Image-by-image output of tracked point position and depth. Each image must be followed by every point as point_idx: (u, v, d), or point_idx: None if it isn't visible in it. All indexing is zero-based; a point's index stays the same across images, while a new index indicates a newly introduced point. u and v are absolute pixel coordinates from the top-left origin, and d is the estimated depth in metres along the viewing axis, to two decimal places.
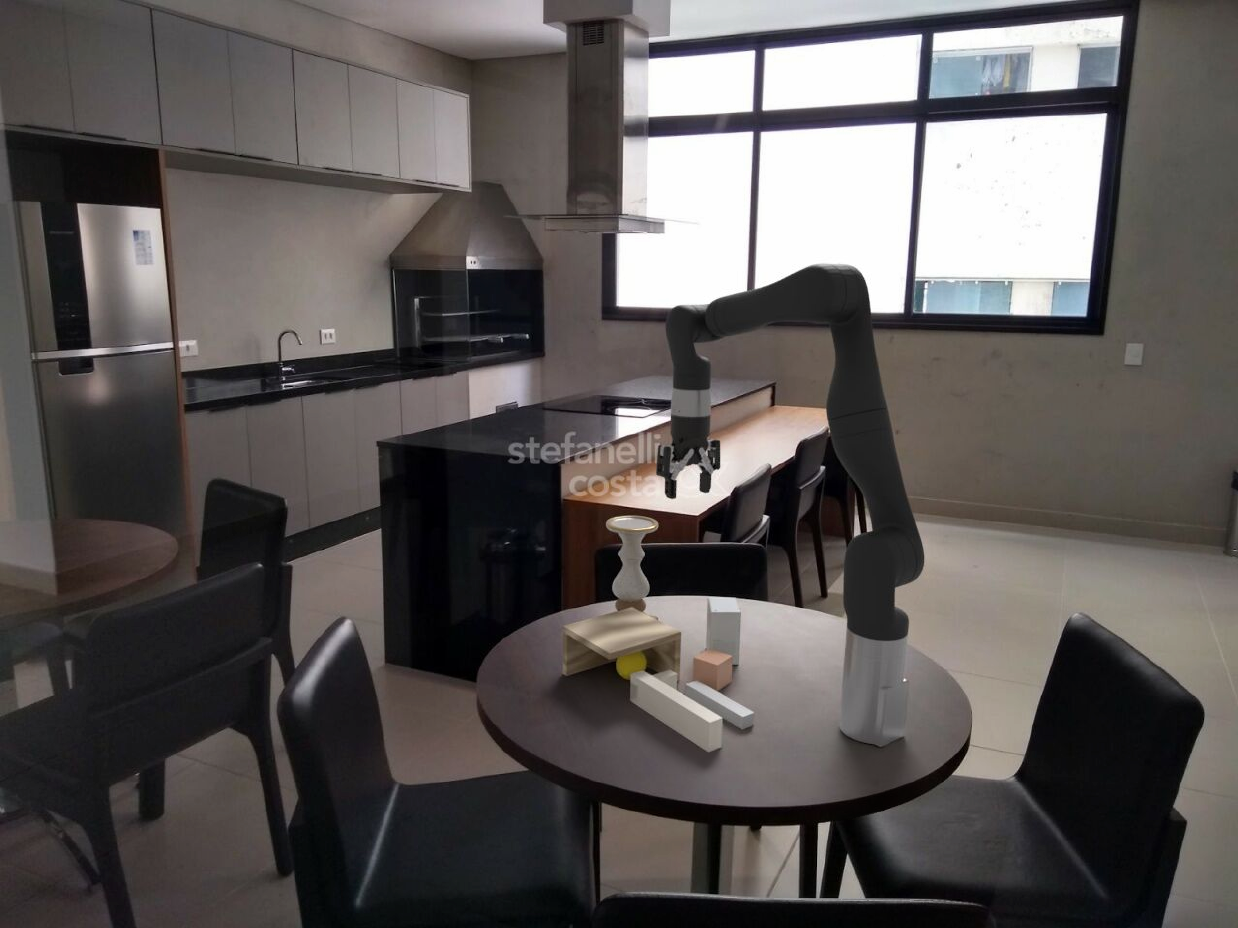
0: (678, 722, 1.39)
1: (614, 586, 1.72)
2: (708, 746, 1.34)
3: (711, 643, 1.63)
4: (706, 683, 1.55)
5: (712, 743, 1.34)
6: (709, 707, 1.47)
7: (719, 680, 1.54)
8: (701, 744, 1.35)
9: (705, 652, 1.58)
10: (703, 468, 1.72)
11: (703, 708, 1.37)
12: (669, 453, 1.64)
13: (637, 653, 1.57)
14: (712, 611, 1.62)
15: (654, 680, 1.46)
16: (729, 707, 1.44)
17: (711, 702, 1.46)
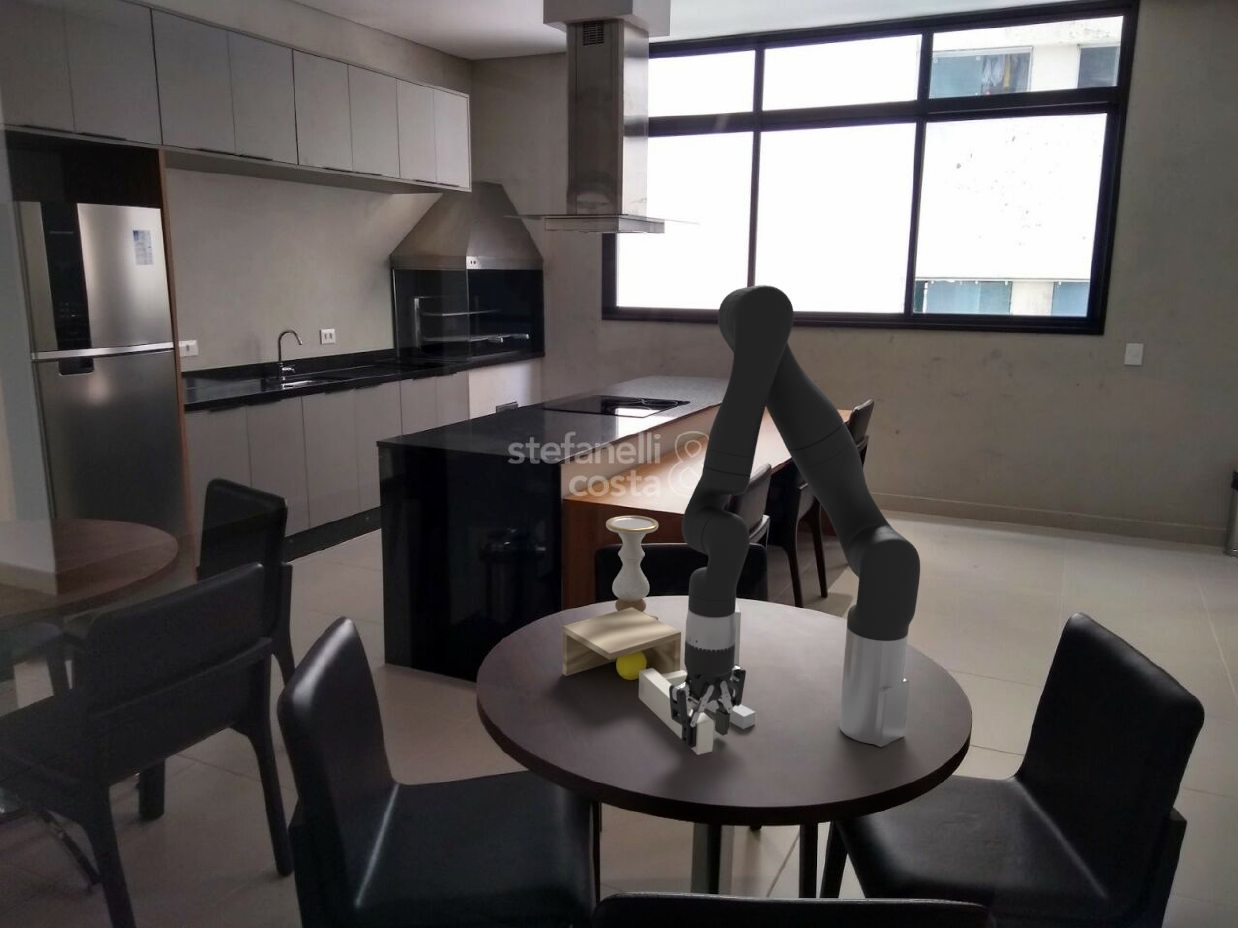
0: (674, 722, 1.39)
1: (614, 586, 1.72)
2: (697, 748, 1.33)
3: None
4: None
5: (701, 745, 1.33)
6: (709, 707, 1.47)
7: None
8: None
9: None
10: (720, 704, 1.37)
11: None
12: (684, 697, 1.30)
13: (637, 653, 1.57)
14: None
15: (660, 678, 1.47)
16: None
17: (711, 702, 1.46)
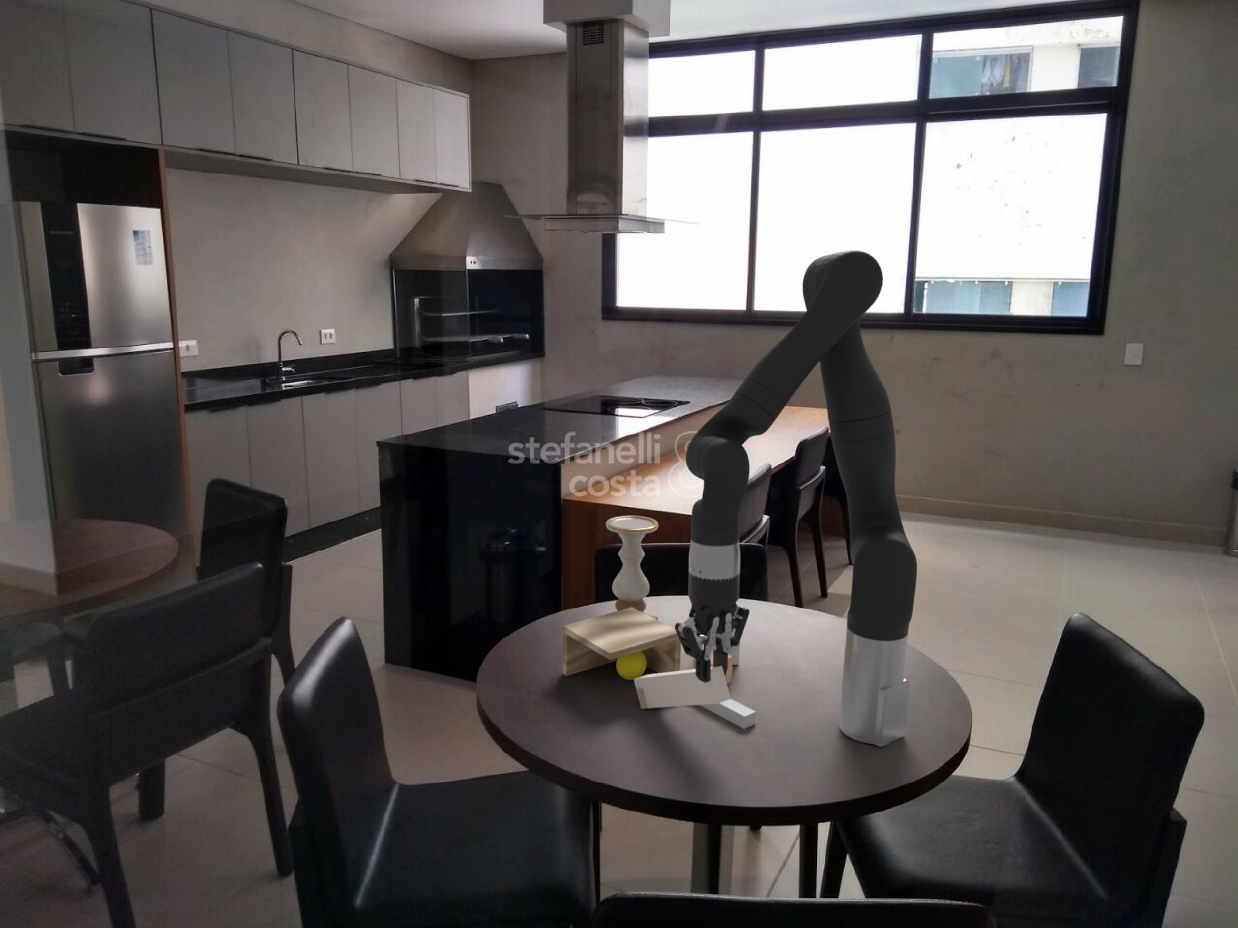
0: (685, 693, 1.37)
1: (614, 586, 1.72)
2: (716, 696, 1.31)
3: None
4: None
5: (718, 692, 1.32)
6: (709, 707, 1.47)
7: None
8: (710, 699, 1.33)
9: None
10: (717, 644, 1.34)
11: None
12: (691, 634, 1.28)
13: (637, 653, 1.57)
14: None
15: (656, 674, 1.45)
16: (730, 706, 1.44)
17: None
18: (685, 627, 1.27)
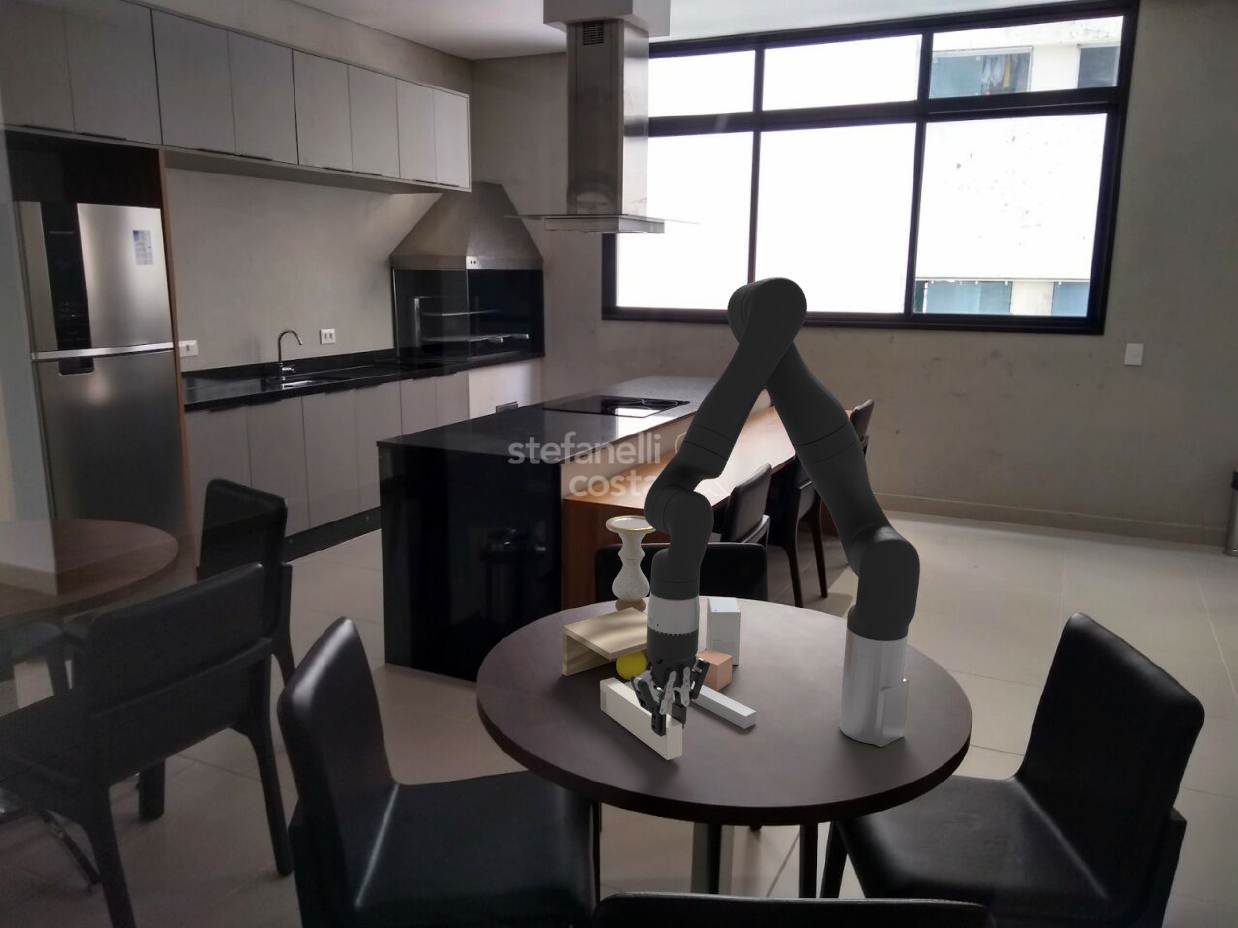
0: (641, 729, 1.35)
1: (614, 586, 1.72)
2: (667, 753, 1.30)
3: (711, 643, 1.63)
4: (706, 683, 1.55)
5: (671, 749, 1.30)
6: (709, 707, 1.47)
7: (719, 680, 1.54)
8: (661, 751, 1.31)
9: (705, 652, 1.58)
10: (676, 697, 1.31)
11: None
12: (646, 687, 1.25)
13: (637, 653, 1.57)
14: (712, 611, 1.62)
15: (622, 687, 1.43)
16: (730, 706, 1.44)
17: (711, 702, 1.46)
18: (640, 680, 1.25)
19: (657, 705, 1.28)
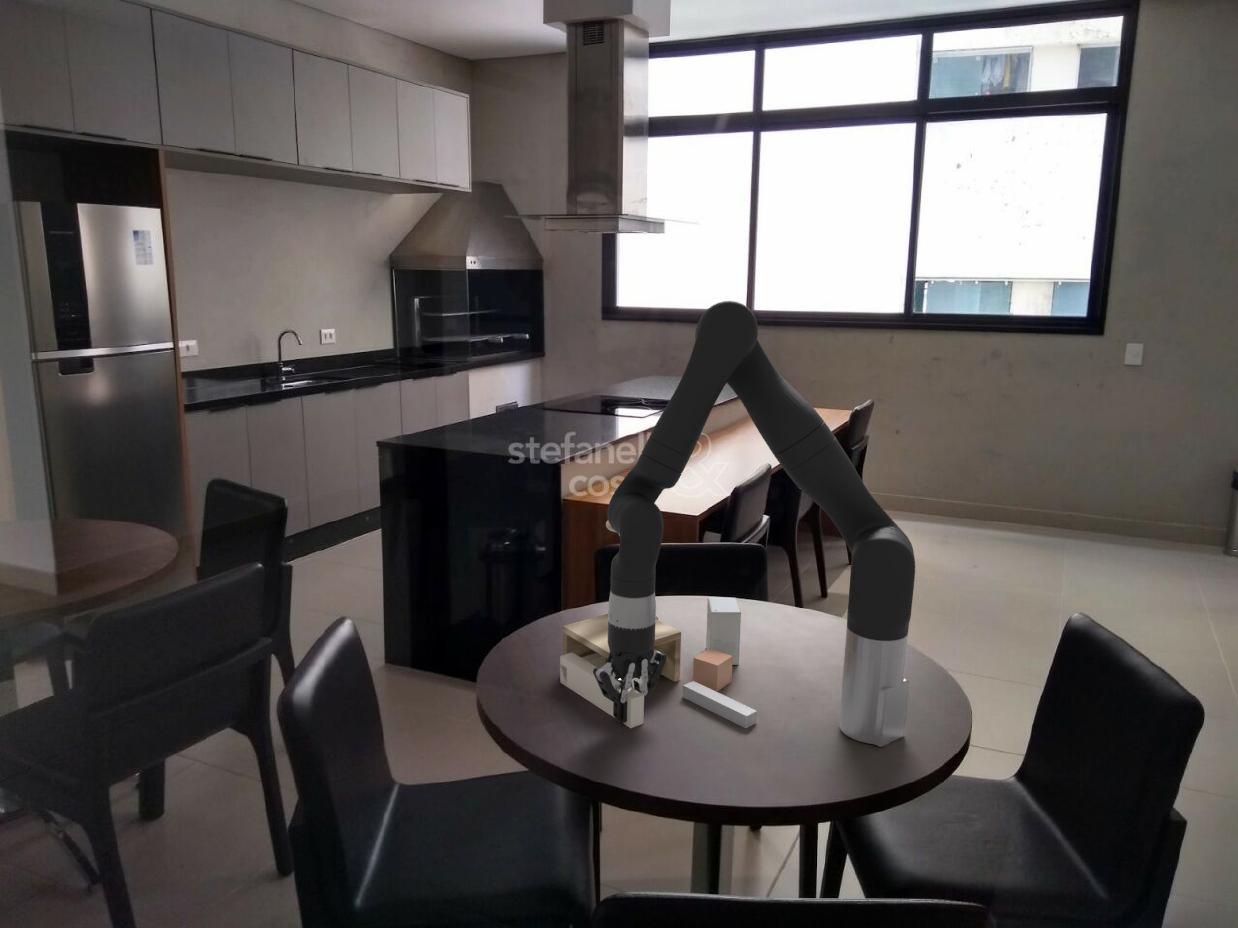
0: (603, 700, 1.46)
1: None
2: (630, 722, 1.41)
3: (711, 643, 1.63)
4: (706, 683, 1.55)
5: (634, 719, 1.41)
6: (709, 707, 1.47)
7: (719, 680, 1.54)
8: None
9: (705, 652, 1.58)
10: (635, 687, 1.43)
11: None
12: (608, 678, 1.37)
13: None
14: (712, 611, 1.62)
15: (582, 661, 1.53)
16: (731, 706, 1.44)
17: (711, 702, 1.46)
18: (602, 672, 1.37)
19: (618, 694, 1.40)
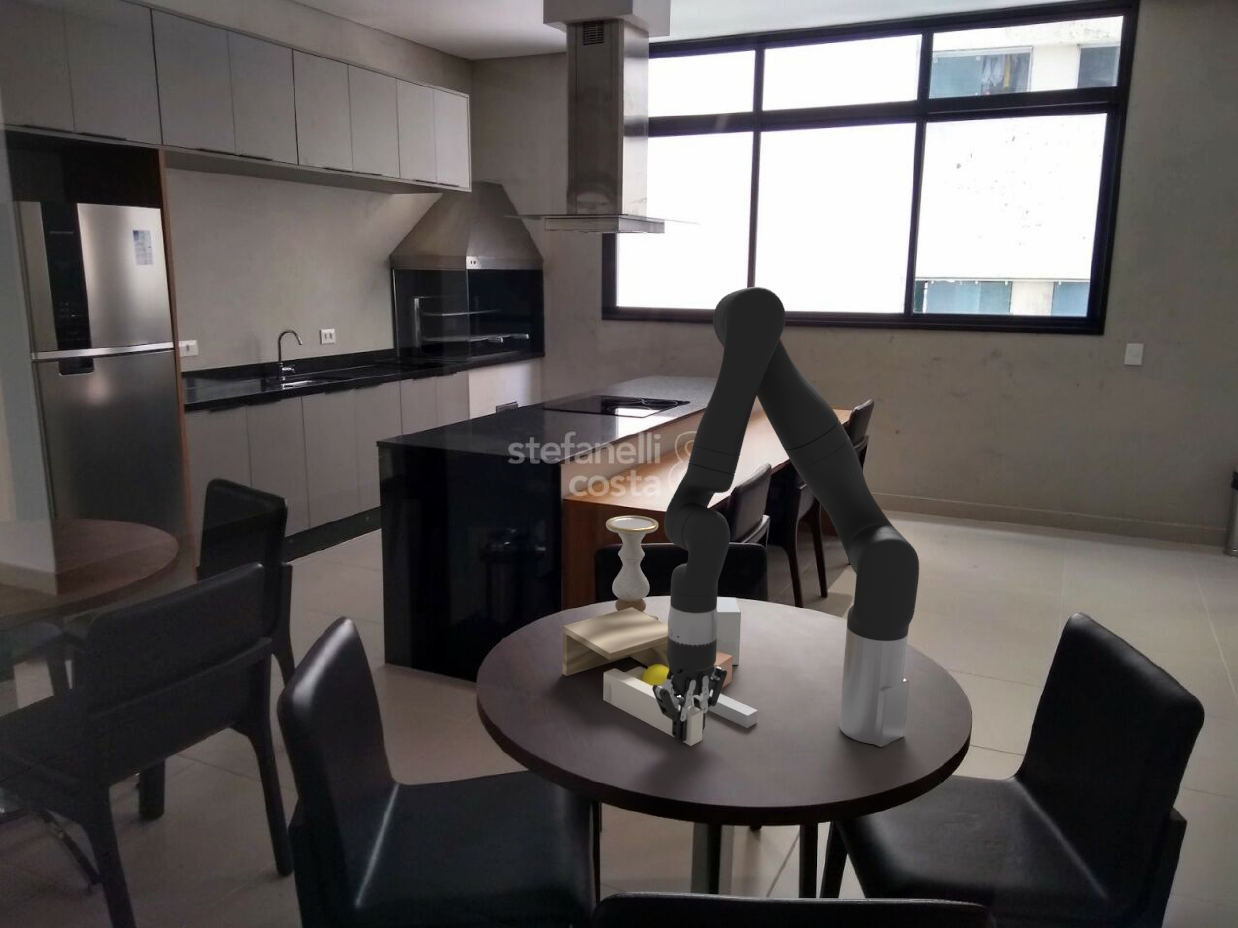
0: (657, 717, 1.40)
1: (614, 586, 1.72)
2: (690, 739, 1.36)
3: None
4: None
5: (693, 736, 1.36)
6: (709, 707, 1.47)
7: None
8: None
9: None
10: (695, 704, 1.38)
11: None
12: (668, 696, 1.32)
13: (663, 670, 1.50)
14: None
15: (628, 677, 1.47)
16: (731, 706, 1.44)
17: None
18: (662, 689, 1.31)
19: (678, 712, 1.34)
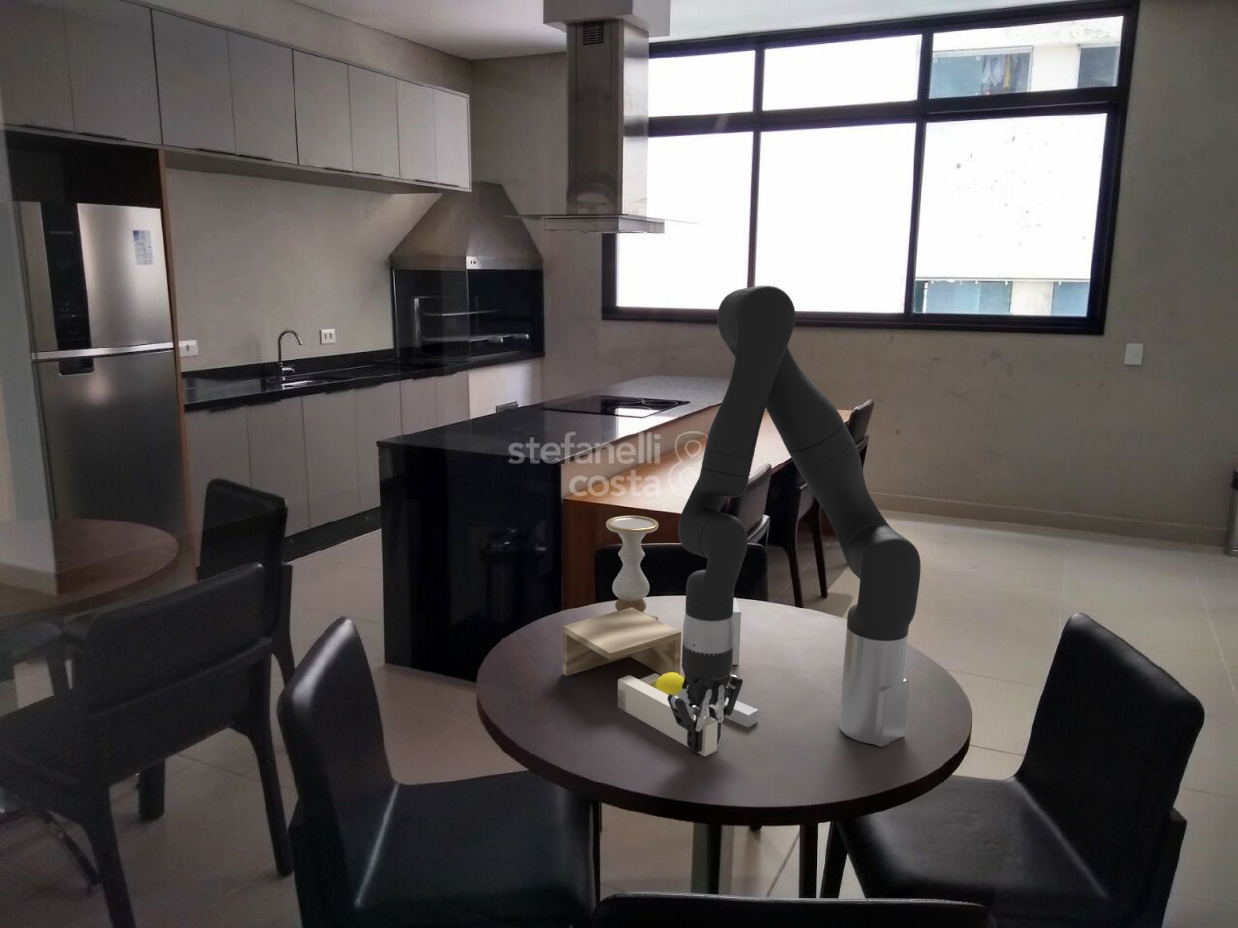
0: (671, 726, 1.38)
1: (614, 586, 1.72)
2: (704, 750, 1.33)
3: None
4: None
5: (708, 746, 1.33)
6: None
7: None
8: None
9: None
10: (711, 713, 1.35)
11: None
12: (683, 706, 1.29)
13: (676, 678, 1.47)
14: None
15: (643, 685, 1.45)
16: None
17: None
18: (678, 699, 1.28)
19: (693, 722, 1.31)
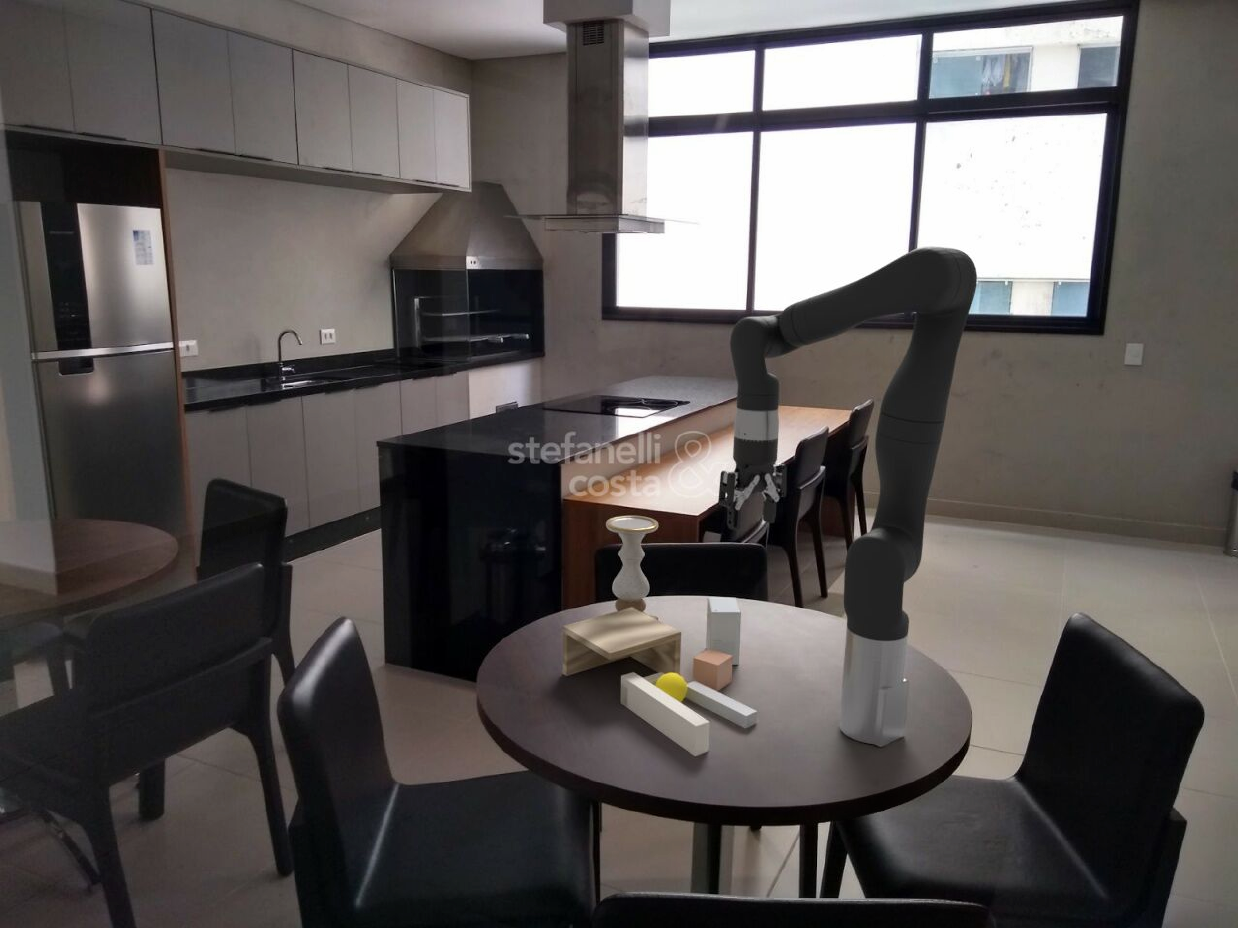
0: (666, 725, 1.38)
1: (614, 586, 1.72)
2: (694, 750, 1.33)
3: (711, 643, 1.63)
4: (706, 683, 1.55)
5: (698, 746, 1.33)
6: (710, 707, 1.47)
7: (720, 680, 1.54)
8: (688, 748, 1.34)
9: (705, 652, 1.58)
10: (767, 495, 1.56)
11: (691, 711, 1.36)
12: (733, 480, 1.48)
13: (676, 679, 1.47)
14: (712, 611, 1.62)
15: (644, 682, 1.46)
16: (731, 706, 1.44)
17: (712, 702, 1.46)
18: (731, 472, 1.48)
19: None
